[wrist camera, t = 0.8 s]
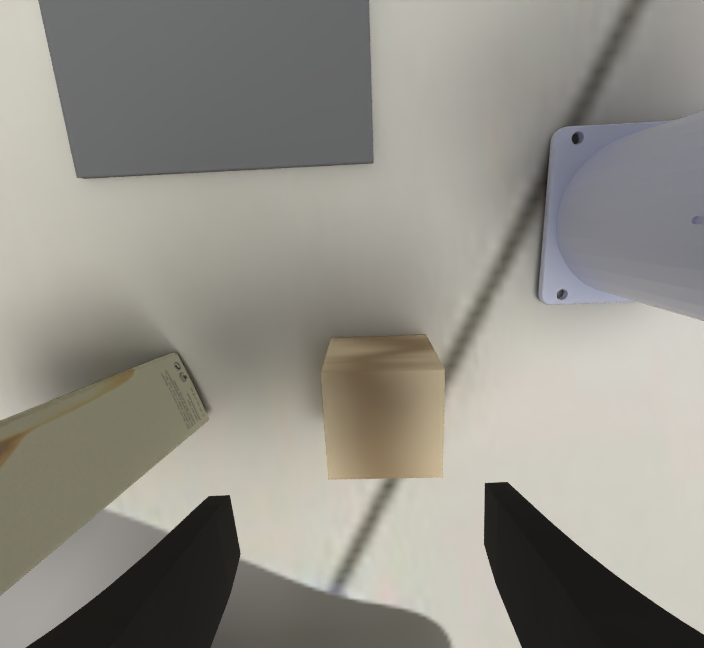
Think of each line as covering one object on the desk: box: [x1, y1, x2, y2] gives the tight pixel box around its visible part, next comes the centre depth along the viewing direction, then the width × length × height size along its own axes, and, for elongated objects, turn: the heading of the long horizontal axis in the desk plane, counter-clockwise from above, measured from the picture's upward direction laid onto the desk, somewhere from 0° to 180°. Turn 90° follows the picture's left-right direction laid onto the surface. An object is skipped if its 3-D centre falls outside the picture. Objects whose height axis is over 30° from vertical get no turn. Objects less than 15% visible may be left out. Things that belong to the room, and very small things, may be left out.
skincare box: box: [0, 353, 209, 595], centre depth 15 cm, size 6×4×12 cm
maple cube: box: [321, 335, 445, 479], centre depth 18 cm, size 5×5×5 cm
